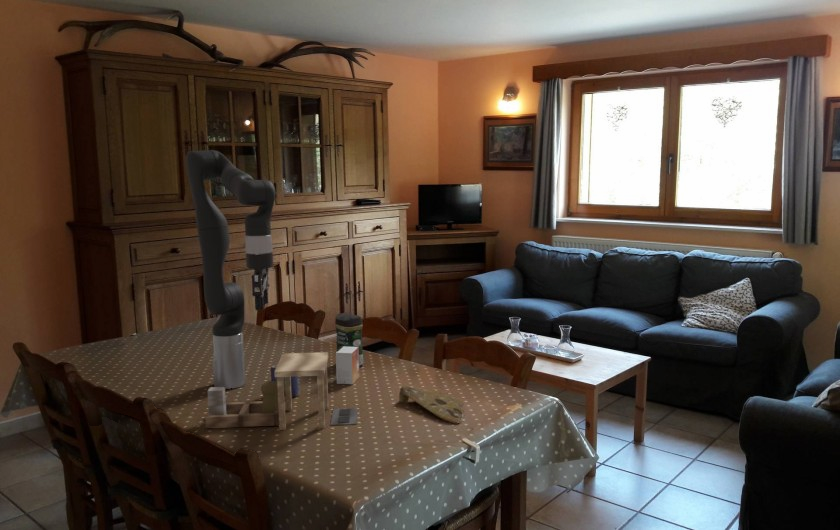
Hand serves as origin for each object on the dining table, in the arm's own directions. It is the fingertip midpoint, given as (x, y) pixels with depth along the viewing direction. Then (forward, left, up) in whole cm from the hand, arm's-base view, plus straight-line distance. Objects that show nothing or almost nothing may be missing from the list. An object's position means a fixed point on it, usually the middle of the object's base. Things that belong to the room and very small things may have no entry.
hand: (262, 306), depth 192 cm
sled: (-4, -10, -30) cm, 32 cm away
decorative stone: (+51, -6, -31) cm, 60 cm away
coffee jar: (+23, +39, -30) cm, 54 cm away
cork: (+3, -10, -30) cm, 32 cm away
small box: (+23, +22, -30) cm, 44 cm away
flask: (+4, +10, -30) cm, 32 cm away
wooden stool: (+16, -10, -30) cm, 36 cm away
